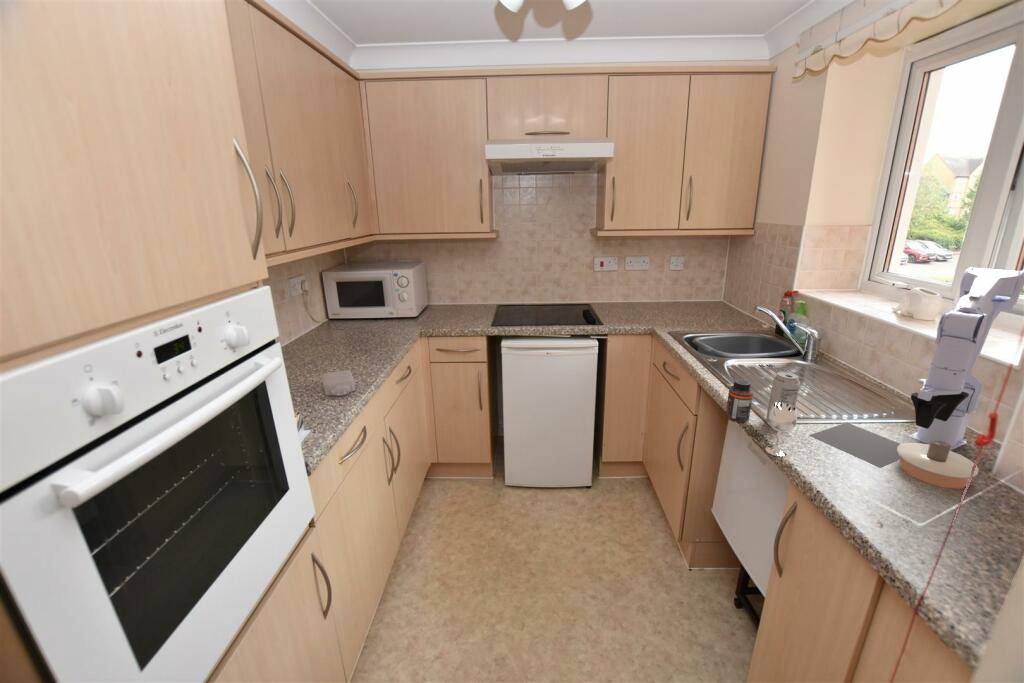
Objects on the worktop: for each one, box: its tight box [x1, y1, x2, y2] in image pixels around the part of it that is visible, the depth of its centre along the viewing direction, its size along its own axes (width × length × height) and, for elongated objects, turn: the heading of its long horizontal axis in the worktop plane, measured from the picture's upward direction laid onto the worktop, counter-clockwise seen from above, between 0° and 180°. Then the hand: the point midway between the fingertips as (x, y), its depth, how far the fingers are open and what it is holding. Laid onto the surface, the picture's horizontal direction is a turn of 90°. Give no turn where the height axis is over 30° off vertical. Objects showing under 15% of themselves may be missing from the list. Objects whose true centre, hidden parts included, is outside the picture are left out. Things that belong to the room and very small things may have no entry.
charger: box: [321, 369, 356, 397], centre depth 143 cm, size 5×9×15 cm
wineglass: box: [765, 402, 798, 457], centre depth 104 cm, size 6×6×12 cm
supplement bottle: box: [725, 378, 754, 423], centre depth 121 cm, size 6×6×11 cm
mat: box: [808, 422, 901, 469], centre depth 109 cm, size 16×16×1 cm
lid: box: [897, 440, 980, 478], centre depth 95 cm, size 13×13×4 cm
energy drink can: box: [765, 371, 801, 427], centre depth 116 cm, size 6×6×15 cm
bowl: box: [898, 457, 969, 490], centre depth 96 cm, size 11×11×4 cm
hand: (931, 422), depth 99 cm, fingers open, 7 cm apart
